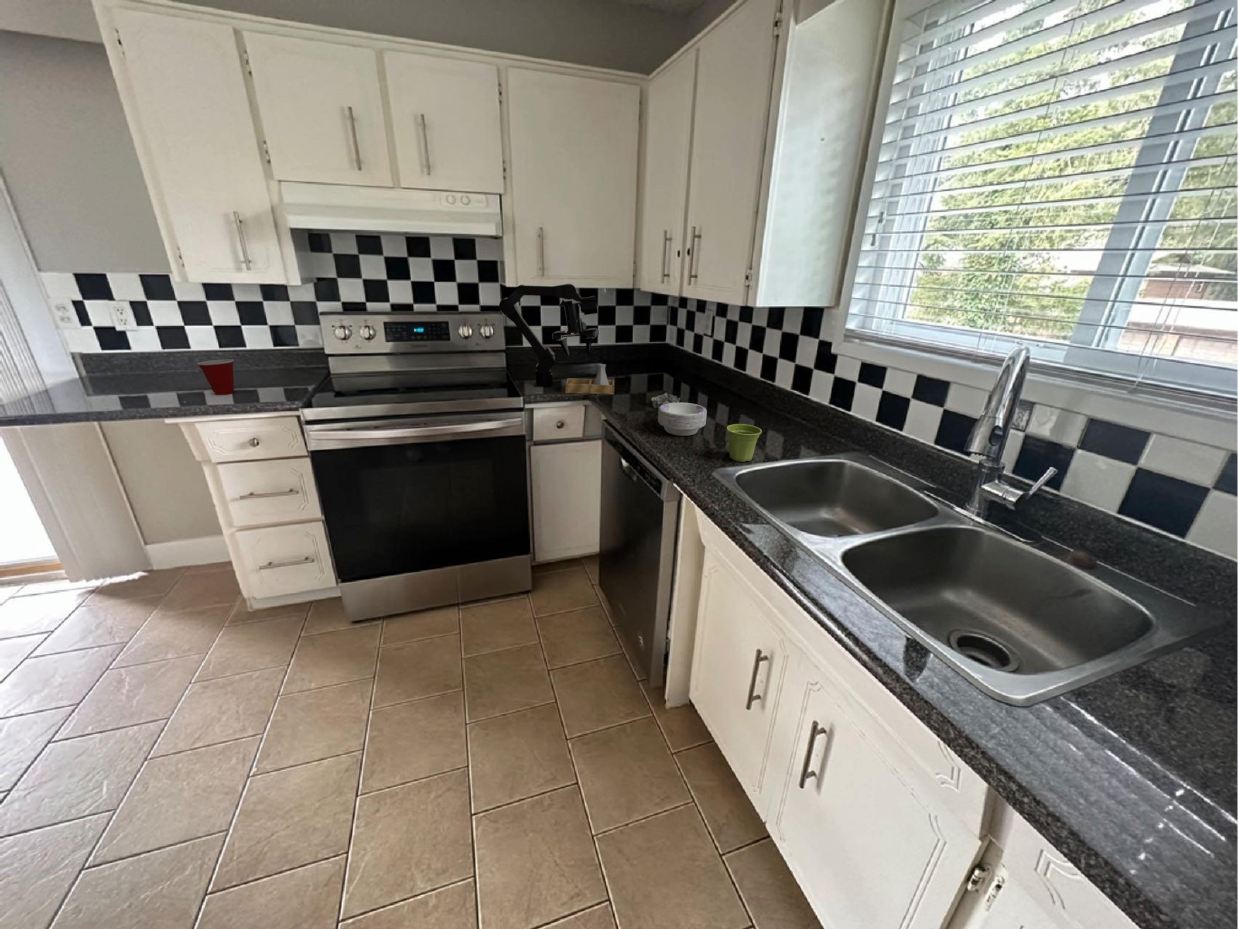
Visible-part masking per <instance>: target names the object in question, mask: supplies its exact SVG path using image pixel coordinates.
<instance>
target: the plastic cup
mask: <svg viewBox="0 0 1238 929" xmlns="http://www.w3.org/2000/svg"><path fill="white" fill-rule="evenodd" d="M234 362H235V359H233V358H228V359H227V358H226V359H225V358H224V359H223V358H222V359H212V360H205V361H199V362H196V365H198V367H199V368H200V369H201V371H202V373H203V375H204V377H205V379H206V380H207V382H208V385H209V386H210V388H211V390H212V392H213V393H214V395H216V396H224V395H230V394H233V393H235V377H234Z"/></svg>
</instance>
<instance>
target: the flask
mask: <svg viewBox="0 0 1238 929" xmlns="http://www.w3.org/2000/svg"><path fill="white" fill-rule="evenodd" d="M606 367H607V364H605V363H598V364H597V369H598V370H597V373H596V377H595V378H594V379H595V382H594V384H593V385H609V382H608V380H609V379H608V376H607V372H606Z"/></svg>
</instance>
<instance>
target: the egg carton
mask: <svg viewBox="0 0 1238 929" xmlns="http://www.w3.org/2000/svg"><path fill="white" fill-rule="evenodd" d="M680 400H681V397H678V396H677V395H673V394H669V393H667V392H664V393H663V394H661V395H660V394H659V395H657V396H653V397H651V401H652V407H653V408H654V409H656V408H657V409H659V407H660V406H661V405H664V404H667V403H679V402H680Z"/></svg>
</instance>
